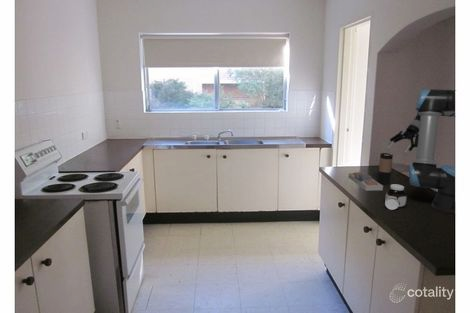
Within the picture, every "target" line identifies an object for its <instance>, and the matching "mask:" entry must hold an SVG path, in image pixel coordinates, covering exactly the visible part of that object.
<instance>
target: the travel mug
mask: <svg viewBox="0 0 470 313" xmlns="http://www.w3.org/2000/svg"><path fill="white" fill-rule="evenodd" d="M393 156H394V154H391V153H389V152H381V153H380V156H379V165H378V176H377V182H378V183H380V184H381V185H383V186H389V185H390V180H391V175H392V167H393Z"/></svg>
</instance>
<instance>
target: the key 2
mask: <svg viewBox="0 0 470 313" xmlns="http://www.w3.org/2000/svg"><path fill="white" fill-rule="evenodd" d="M374 180H375V179H374ZM374 180H365V181H364V183H366V184H367V185H378V183H377V182H378V181H377V182H375V181H376V180H375V181H374Z"/></svg>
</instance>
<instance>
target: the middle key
mask: <svg viewBox="0 0 470 313" xmlns="http://www.w3.org/2000/svg"><path fill="white" fill-rule="evenodd" d="M371 178H372V176H371V175H370V174H368V173H364V174H359V179H361V180H362V181H365V180H371ZM372 179H373V178H372Z"/></svg>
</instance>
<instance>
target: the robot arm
mask: <svg viewBox="0 0 470 313" xmlns="http://www.w3.org/2000/svg"><path fill="white" fill-rule="evenodd" d="M455 91H456V90H455V89H431V88H430V89H422V90H421V91H420V92H419V94H418V99H417V102H416V105H415V106H416V107H415V111H417V113H416V116H415V117H414V118H413V120H412V121H411V122H410V124H408V126H407V128H406V129H405V130H404V131H403V130H400V131H399V132H398V133H397V134H395V135H394V136H392V137H391V138H389V141H390V142H389V144H388V146H387V147H386V149H387V151H388V152H390V151H391V150H392V149H393V147H394V146H395V144H396V143H397V142H400V141H402V140H410V144H409V145H408V147H407V148H406V149H405V151H404V154H405V156H407V155H408V154H409V153H410V152H411V151H413V150H414V148H417V149H416V157H415V159H414V160H413V161H412V164H409V167H408V173H409V174H408V178H409V184H410V185H411V186H412V187H418V188H425V189H433V190H437V193H436V195H435V196H434V197H433V198H434V199H433V200H432V201H431V207H432V208H433V209H434V210H436V211H438V212H441V213H447V214H451V213H452V214H455V167H456V166H453V165H447V164H442V165H440V167H437V163H436V162H435V152H436V144H437V136H438V134H437V133H438V126H439V118H440V117H450V118H451V117H456V116H455ZM455 215H456V214H455Z"/></svg>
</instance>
